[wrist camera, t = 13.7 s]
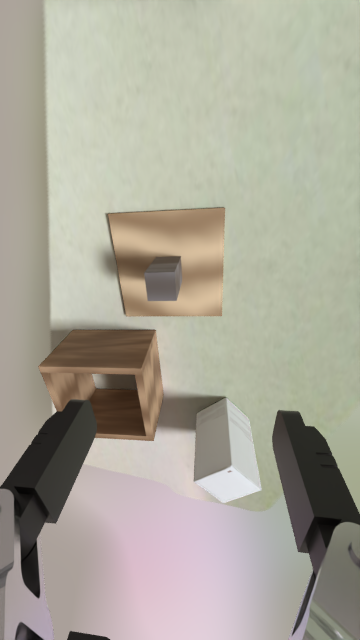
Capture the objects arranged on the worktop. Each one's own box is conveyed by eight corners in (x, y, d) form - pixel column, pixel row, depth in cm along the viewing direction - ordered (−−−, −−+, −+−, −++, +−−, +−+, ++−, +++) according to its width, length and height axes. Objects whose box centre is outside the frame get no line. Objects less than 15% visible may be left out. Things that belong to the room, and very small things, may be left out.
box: (73, 329, 41) (38, 366, 32) (155, 330, 39) (141, 368, 31) (92, 392, 47) (67, 436, 39) (163, 394, 46) (153, 440, 37)
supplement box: (195, 412, 47) (191, 481, 36) (226, 395, 44) (232, 465, 33) (219, 433, 49) (222, 505, 38) (250, 419, 46) (263, 491, 35)
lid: (110, 213, 32) (83, 220, 25) (224, 207, 30) (229, 213, 23) (128, 313, 39) (110, 341, 32) (221, 313, 37) (224, 342, 30)
